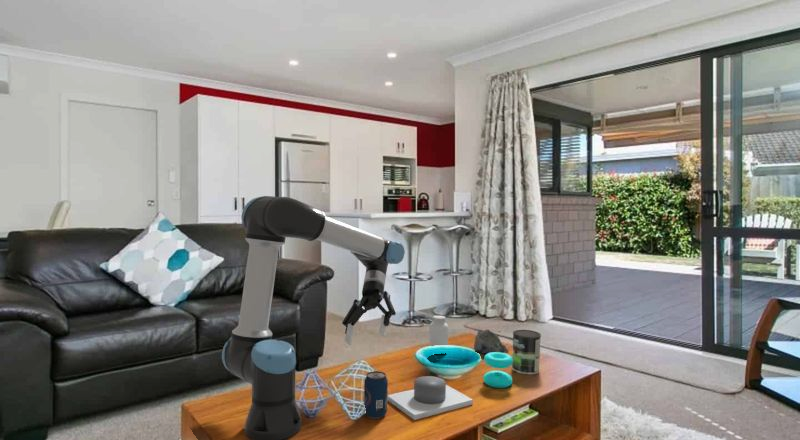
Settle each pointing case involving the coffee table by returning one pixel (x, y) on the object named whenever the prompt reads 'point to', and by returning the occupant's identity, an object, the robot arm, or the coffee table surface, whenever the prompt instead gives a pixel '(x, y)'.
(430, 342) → the pill bottle
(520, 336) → the coffee can
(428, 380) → the plinth stand
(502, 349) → the mineral rock
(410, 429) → the coffee table surface
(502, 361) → the donuts
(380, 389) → the soda can
